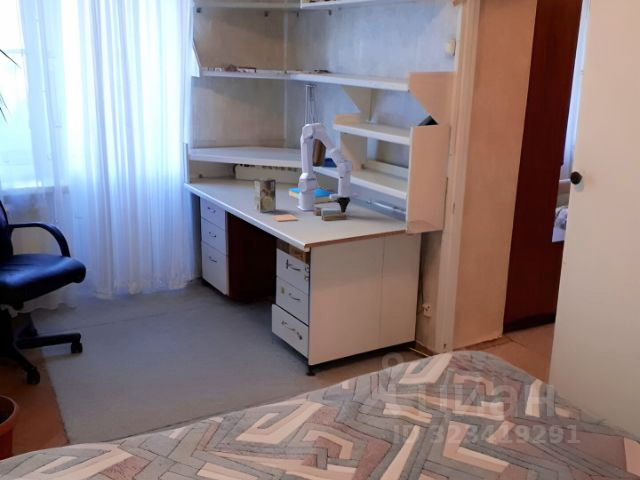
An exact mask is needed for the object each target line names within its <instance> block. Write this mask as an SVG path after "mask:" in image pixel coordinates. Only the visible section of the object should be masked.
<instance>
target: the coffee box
mask: <svg viewBox="0 0 640 480" xmlns="http://www.w3.org/2000/svg"><path fill="white" fill-rule="evenodd" d="M253 180H254V181H253V182H254V183H253V185H254V186H253V187H254V191H253V192H254V194H253V198H254V211H255V212H259V213H265V212H274V211H277V210H276V207H277V203H276V202H277V201H276V199H277V198H276V196H277V195H276V179H274V178H271V177H264V178H255V179H253Z"/></svg>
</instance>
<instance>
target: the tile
mask: <svg viewBox="0 0 640 480" xmlns="http://www.w3.org/2000/svg"><path fill="white" fill-rule="evenodd" d="M271 218H272V219H274V220H275V221H276V222H280V223H281V222H293V221H296V222H297V221H299V219H298V218H297V217H296V216H294V215H292V214H291V213H290V214H280V215H279V214H277V215H276V214H275V215H271Z"/></svg>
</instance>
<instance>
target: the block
mask: <svg viewBox="0 0 640 480" xmlns="http://www.w3.org/2000/svg"><path fill="white" fill-rule="evenodd" d="M320 210H321V215H320V216H321V217H322V215H332V214H340V213H339V212H340V210H339V208H338V207H321V209H320Z"/></svg>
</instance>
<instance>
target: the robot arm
mask: <svg viewBox="0 0 640 480" xmlns="http://www.w3.org/2000/svg"><path fill="white" fill-rule="evenodd" d="M326 130H327V129H326V128H325V127H324V125H323V124H322V123H321V122H317V123H308V124H307V123H306V124H305V125H304V126H303V127H302V130H301V131H302V133H301V136H300V154H301V156H300V157H301V158H300V159H301V171H302V172H301V175H300V176H299V178H298V179H299V182H298V185H297V188H299V190H300V193H299V199H298V205H297V206H296V208H298V209H299V210H301V211H304V212H305V211H306V212H307V211H314V210H318V208H316V207H315V204H316V203H315V189H317V188H318V186H319V182H318V180H317V176H316V174H314V169H313V167H314V163H313V147H312V146H313V145H312V144H313V141H315V139H316V140H319V141H320V142H321V143H322V144H323V145H324V147H326V149H327V151H328V152H329V156H330V158H331V159H332V161H333V163H335V165H336V171H337V172H338V184H337V185H338V187H337V188H338V189H337V192H338V193H333V194H331V195H330V199H337V201H338V203H339V204H338V205H339V207H340V208H339V209H340V212H341V214H346V211H347V208H348V206H349V204H350V201H351V198H352V199H353V198H356V199H357V198H359V194H358V192H357V193H356V192H350V191H351V175H352V174H351V172H352V171H353V168H354V165H353V162H352V161H351V160H349V159H348V158H347V157H345V155H344V154H343V151H342V150H341V149H340V148H338V147H336V146H335V145H334V143H333V141H332V140H331V138H330V137H329V135H328V133H327V131H326Z"/></svg>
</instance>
